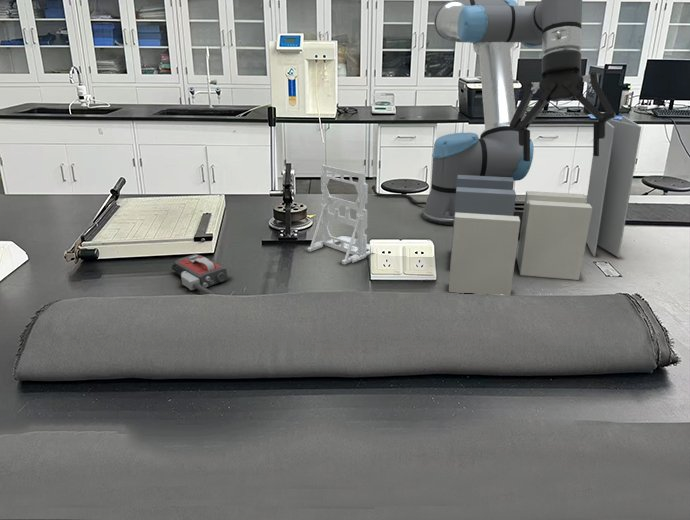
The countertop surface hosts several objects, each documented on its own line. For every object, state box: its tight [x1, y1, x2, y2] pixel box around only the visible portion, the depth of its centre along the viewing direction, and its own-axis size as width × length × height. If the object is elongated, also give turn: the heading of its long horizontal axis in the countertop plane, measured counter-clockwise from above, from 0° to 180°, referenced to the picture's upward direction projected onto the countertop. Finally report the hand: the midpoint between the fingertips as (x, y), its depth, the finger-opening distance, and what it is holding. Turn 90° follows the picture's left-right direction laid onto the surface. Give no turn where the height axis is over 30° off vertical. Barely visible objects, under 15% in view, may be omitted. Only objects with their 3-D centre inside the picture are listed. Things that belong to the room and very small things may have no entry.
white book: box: [448, 213, 520, 296], centre depth 104 cm, size 3×12×16 cm, turn 78°
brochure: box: [586, 115, 642, 258], centre depth 125 cm, size 14×6×30 cm, turn 168°
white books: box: [516, 190, 592, 281], centre depth 115 cm, size 9×12×16 cm
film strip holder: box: [306, 164, 371, 266], centre depth 125 cm, size 14×14×20 cm
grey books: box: [449, 175, 517, 270], centre depth 118 cm, size 10×12×19 cm
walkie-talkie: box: [170, 253, 228, 295], centre depth 111 cm, size 9×4×20 cm
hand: (560, 158), depth 111 cm, fingers open, 13 cm apart
